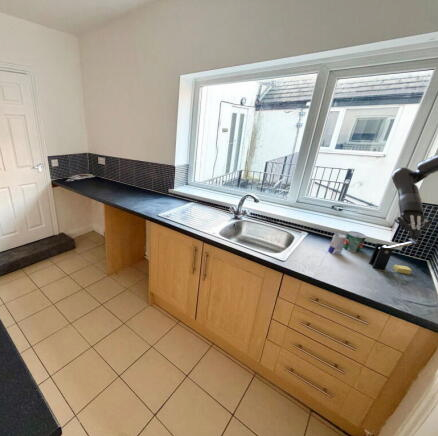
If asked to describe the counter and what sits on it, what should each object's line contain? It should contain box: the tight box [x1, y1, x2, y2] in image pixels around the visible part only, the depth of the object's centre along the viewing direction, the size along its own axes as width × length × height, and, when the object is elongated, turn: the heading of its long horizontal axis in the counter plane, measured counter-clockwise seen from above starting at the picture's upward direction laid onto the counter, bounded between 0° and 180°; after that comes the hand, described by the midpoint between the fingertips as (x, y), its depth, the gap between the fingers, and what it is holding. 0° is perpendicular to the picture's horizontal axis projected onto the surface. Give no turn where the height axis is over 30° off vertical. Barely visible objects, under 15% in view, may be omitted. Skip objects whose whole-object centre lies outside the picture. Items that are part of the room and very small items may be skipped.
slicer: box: [368, 242, 394, 274], centre depth 116 cm, size 10×8×13 cm
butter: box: [392, 264, 413, 275], centre depth 115 cm, size 5×4×3 cm
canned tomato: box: [342, 230, 367, 253], centre depth 133 cm, size 8×8×11 cm
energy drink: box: [327, 232, 347, 256], centre depth 129 cm, size 5×5×12 cm
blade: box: [378, 237, 421, 250], centre depth 112 cm, size 13×5×2 cm, turn 69°
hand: (415, 238), depth 109 cm, fingers closed
